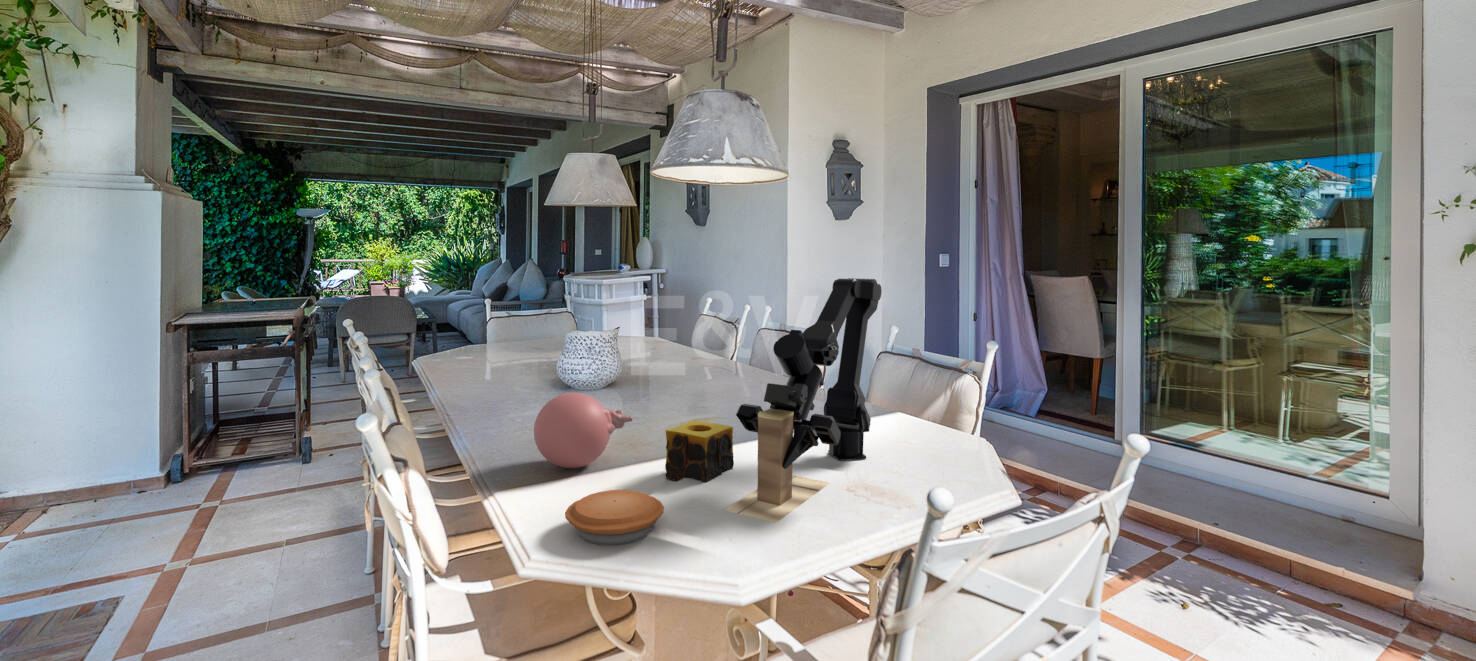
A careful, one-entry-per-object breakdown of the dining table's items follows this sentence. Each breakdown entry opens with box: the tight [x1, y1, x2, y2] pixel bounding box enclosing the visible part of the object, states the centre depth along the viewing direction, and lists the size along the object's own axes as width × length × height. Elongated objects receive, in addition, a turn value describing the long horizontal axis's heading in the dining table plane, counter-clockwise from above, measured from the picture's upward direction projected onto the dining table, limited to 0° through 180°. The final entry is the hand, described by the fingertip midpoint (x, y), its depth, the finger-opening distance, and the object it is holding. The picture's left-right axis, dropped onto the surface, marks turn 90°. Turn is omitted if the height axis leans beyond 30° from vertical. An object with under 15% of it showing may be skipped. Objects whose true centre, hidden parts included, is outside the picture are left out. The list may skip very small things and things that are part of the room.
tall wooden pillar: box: [756, 407, 794, 506], centre depth 117 cm, size 5×5×16 cm
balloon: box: [533, 392, 634, 469], centre depth 139 cm, size 15×20×15 cm
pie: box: [564, 489, 665, 546], centre depth 108 cm, size 16×16×5 cm
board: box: [723, 474, 831, 524], centre depth 120 cm, size 22×10×1 cm, turn 149°
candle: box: [664, 419, 735, 483], centre depth 133 cm, size 10×10×10 cm
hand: (771, 465), depth 116 cm, fingers closed on tall wooden pillar, 4 cm apart
